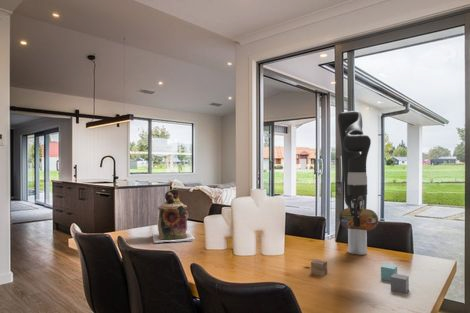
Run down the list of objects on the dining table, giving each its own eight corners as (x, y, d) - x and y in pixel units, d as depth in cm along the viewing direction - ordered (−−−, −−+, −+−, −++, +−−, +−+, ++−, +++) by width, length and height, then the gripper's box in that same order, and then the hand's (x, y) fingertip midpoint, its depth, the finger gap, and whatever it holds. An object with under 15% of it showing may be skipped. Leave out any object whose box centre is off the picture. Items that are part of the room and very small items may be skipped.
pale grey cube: (394, 286, 123) (393, 273, 124) (408, 289, 120) (408, 276, 120) (390, 290, 119) (390, 276, 120) (406, 294, 116) (405, 279, 116)
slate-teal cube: (384, 276, 136) (383, 263, 136) (397, 278, 133) (397, 266, 133) (381, 279, 132) (380, 266, 132) (394, 281, 129) (394, 269, 129)
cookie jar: (151, 236, 215) (152, 187, 216) (189, 233, 223) (189, 186, 224) (154, 244, 192) (154, 189, 193) (195, 241, 199) (196, 188, 200)
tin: (339, 227, 137) (338, 207, 137) (341, 226, 139) (341, 206, 139) (377, 231, 128) (376, 210, 128) (379, 230, 130) (378, 209, 130)
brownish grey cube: (316, 271, 142) (316, 259, 142) (327, 273, 139) (327, 261, 139) (311, 274, 138) (311, 262, 138) (322, 276, 135) (322, 264, 135)
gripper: (353, 182, 142) (353, 222, 141) (342, 184, 131) (342, 227, 130) (371, 183, 137) (372, 224, 137) (361, 184, 126) (362, 229, 126)
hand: (357, 225), depth 134 cm, fingers closed on tin, 2 cm apart
